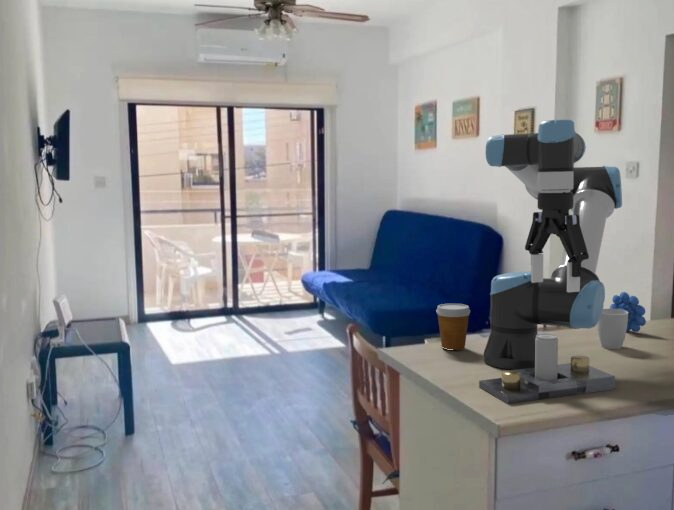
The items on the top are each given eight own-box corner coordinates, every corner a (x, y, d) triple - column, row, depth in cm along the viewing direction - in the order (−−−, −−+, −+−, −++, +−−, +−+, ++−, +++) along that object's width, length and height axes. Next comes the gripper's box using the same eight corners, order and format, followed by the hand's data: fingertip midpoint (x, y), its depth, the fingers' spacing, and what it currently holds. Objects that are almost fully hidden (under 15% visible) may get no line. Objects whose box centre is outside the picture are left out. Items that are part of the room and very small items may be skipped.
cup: (629, 345, 180) (630, 310, 179) (624, 352, 174) (625, 315, 173) (598, 342, 185) (599, 307, 184) (593, 348, 178) (593, 312, 177)
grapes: (601, 329, 199) (602, 291, 198) (614, 326, 203) (615, 289, 202) (636, 336, 190) (637, 296, 188) (649, 333, 193) (651, 294, 192)
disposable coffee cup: (476, 350, 178) (476, 308, 177) (445, 354, 176) (445, 310, 174) (460, 342, 187) (460, 302, 186) (430, 345, 185) (430, 304, 183)
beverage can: (560, 391, 143) (560, 338, 142) (538, 391, 143) (538, 338, 142) (553, 384, 148) (554, 333, 146) (532, 384, 148) (532, 333, 147)
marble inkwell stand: (479, 387, 147) (479, 361, 146) (579, 374, 155) (579, 349, 154) (507, 403, 136) (508, 376, 135) (614, 389, 144) (615, 362, 143)
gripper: (608, 191, 131) (605, 294, 133) (538, 190, 155) (537, 277, 157) (576, 193, 129) (574, 297, 132) (510, 191, 153) (510, 279, 155)
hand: (554, 286), depth 144 cm, fingers open, 13 cm apart
